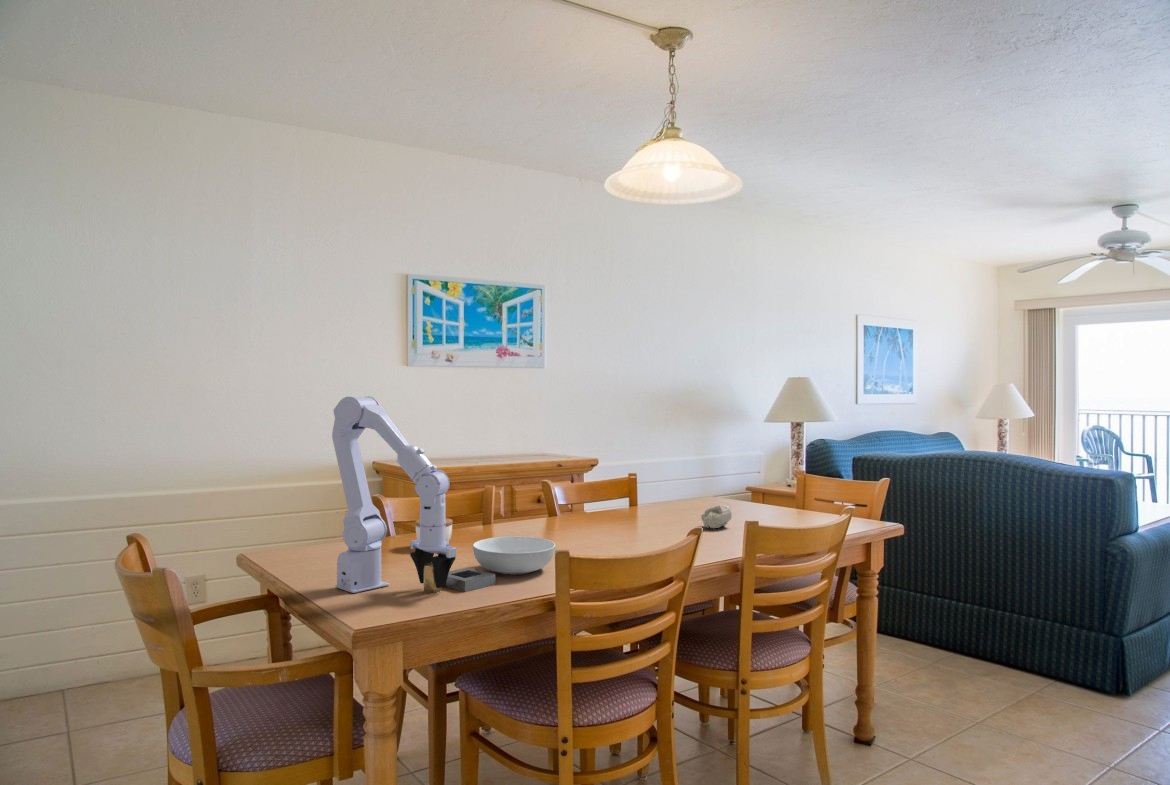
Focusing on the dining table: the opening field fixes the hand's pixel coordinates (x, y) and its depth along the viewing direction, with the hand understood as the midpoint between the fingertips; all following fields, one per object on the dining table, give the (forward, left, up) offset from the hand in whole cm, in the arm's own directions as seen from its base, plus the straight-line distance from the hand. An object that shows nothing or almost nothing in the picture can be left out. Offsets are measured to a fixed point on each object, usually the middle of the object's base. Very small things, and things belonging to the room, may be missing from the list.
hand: (432, 584), depth 170 cm
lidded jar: (+30, +40, -2) cm, 50 cm away
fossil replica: (+113, -4, -2) cm, 113 cm away
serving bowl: (+26, +1, -2) cm, 26 cm away
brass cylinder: (0, 0, -1) cm, 1 cm away
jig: (+9, -1, -1) cm, 9 cm away
